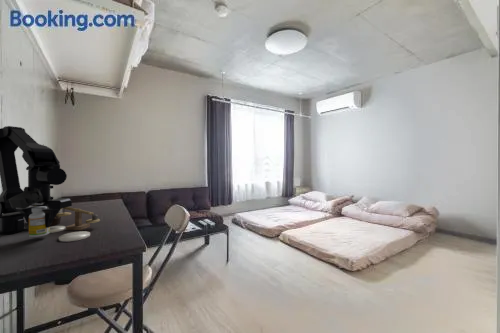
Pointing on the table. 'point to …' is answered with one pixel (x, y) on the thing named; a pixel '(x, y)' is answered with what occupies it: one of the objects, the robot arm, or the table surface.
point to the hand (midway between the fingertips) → (39, 227)
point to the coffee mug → (56, 218)
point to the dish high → (56, 229)
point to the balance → (79, 218)
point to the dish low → (74, 236)
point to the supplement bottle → (38, 222)
